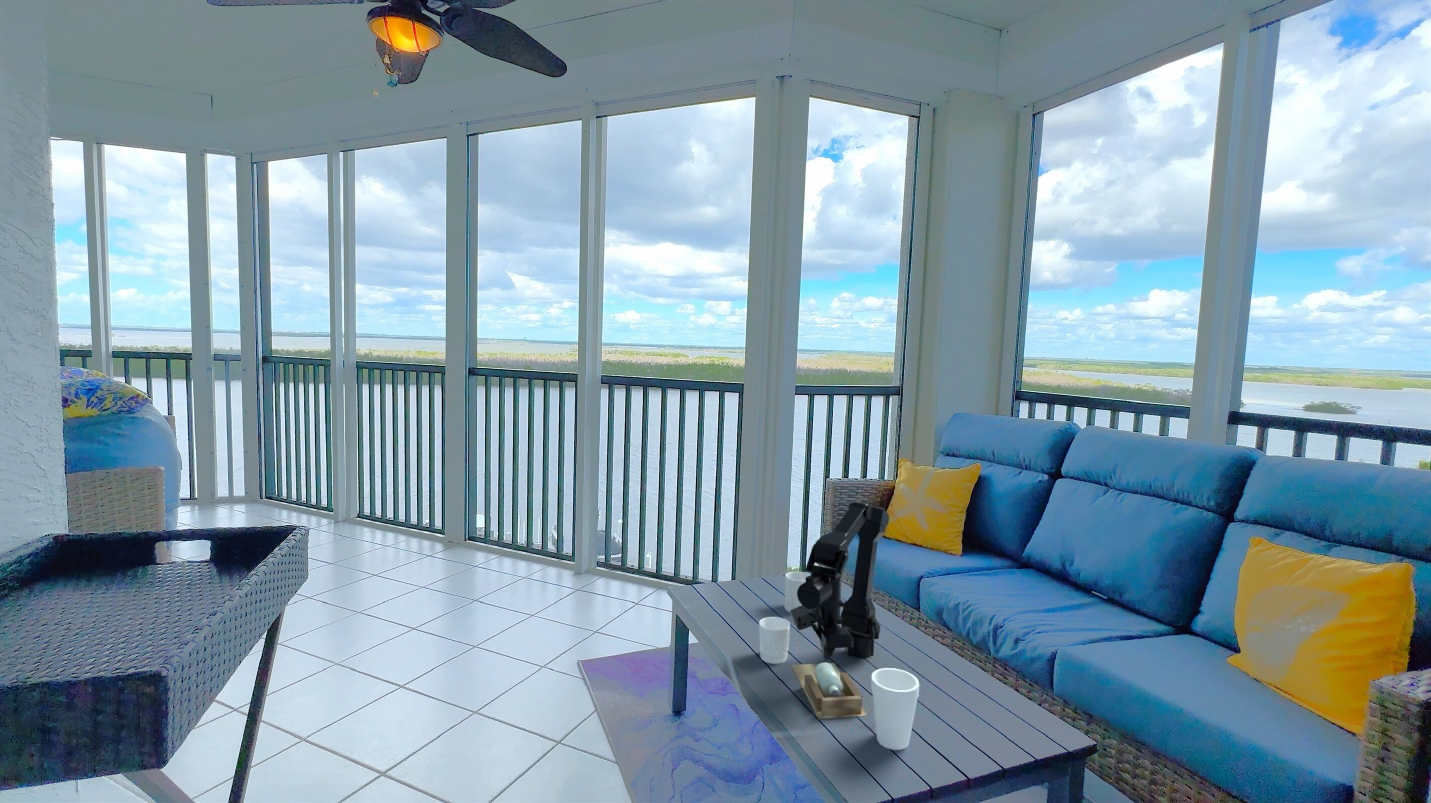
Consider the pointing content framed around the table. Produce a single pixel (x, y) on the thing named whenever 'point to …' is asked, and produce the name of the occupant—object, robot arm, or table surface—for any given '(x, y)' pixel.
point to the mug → (793, 589)
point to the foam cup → (894, 706)
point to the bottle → (828, 680)
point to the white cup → (774, 639)
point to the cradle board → (832, 705)
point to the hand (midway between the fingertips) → (826, 659)
